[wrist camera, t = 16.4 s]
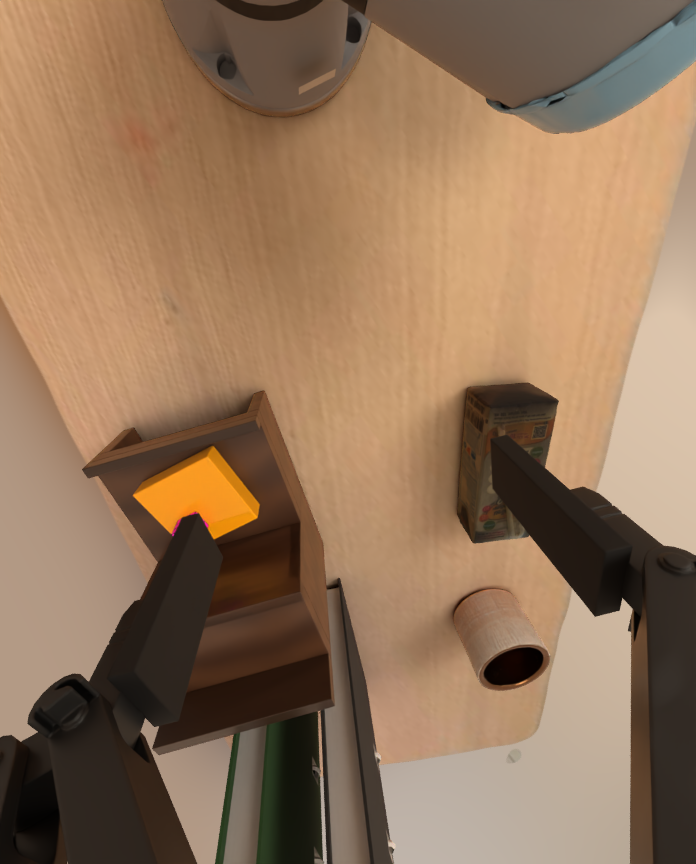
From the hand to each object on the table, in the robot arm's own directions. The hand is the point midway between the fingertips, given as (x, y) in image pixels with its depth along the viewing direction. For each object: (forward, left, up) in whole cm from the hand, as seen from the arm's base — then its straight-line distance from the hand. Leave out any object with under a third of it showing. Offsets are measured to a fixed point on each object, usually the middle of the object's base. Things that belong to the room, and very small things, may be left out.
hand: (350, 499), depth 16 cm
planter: (+47, +14, -25) cm, 55 cm away
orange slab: (+8, -15, -18) cm, 24 cm away
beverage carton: (+17, +17, -25) cm, 35 cm away
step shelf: (+13, -15, -25) cm, 32 cm away
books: (+44, -14, -25) cm, 53 cm away
